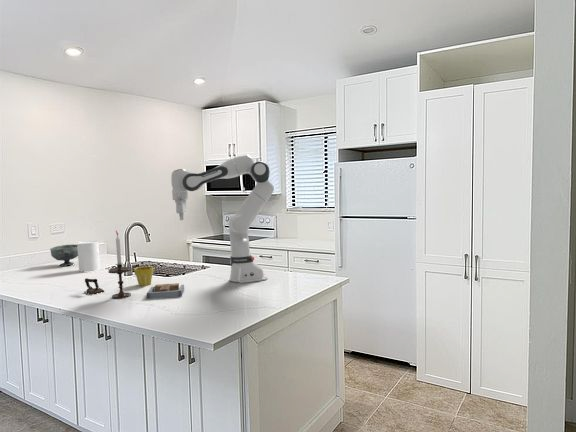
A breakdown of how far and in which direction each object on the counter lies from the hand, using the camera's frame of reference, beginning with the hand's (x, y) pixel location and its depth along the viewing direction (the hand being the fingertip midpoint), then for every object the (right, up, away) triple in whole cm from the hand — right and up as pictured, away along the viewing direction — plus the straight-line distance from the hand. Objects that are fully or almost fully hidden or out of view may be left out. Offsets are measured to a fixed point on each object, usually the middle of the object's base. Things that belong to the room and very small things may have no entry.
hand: (181, 220), depth 245 cm
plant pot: (-21, -38, -4) cm, 43 cm away
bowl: (-107, -36, +72) cm, 133 cm away
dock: (-1, -39, -28) cm, 48 cm away
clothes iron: (-44, -40, -18) cm, 62 cm away
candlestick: (-24, -40, -29) cm, 55 cm away
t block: (-1, -39, -28) cm, 48 cm away
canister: (-78, -36, +48) cm, 99 cm away
